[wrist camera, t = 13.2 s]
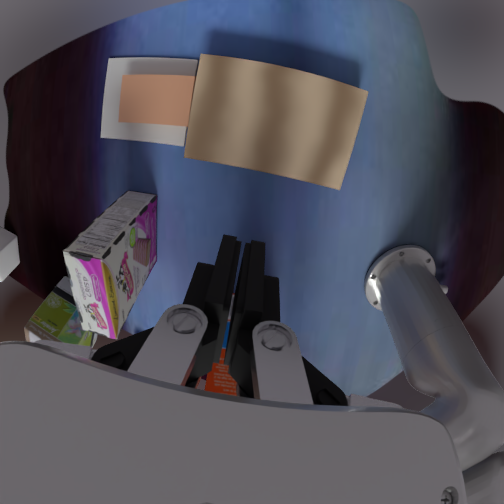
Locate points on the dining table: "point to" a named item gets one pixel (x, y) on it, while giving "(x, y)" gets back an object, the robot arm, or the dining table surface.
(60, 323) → the tea box
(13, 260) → the medicine bottle
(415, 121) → the dining table surface
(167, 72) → the mat
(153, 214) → the candy bar box
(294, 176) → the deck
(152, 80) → the block
